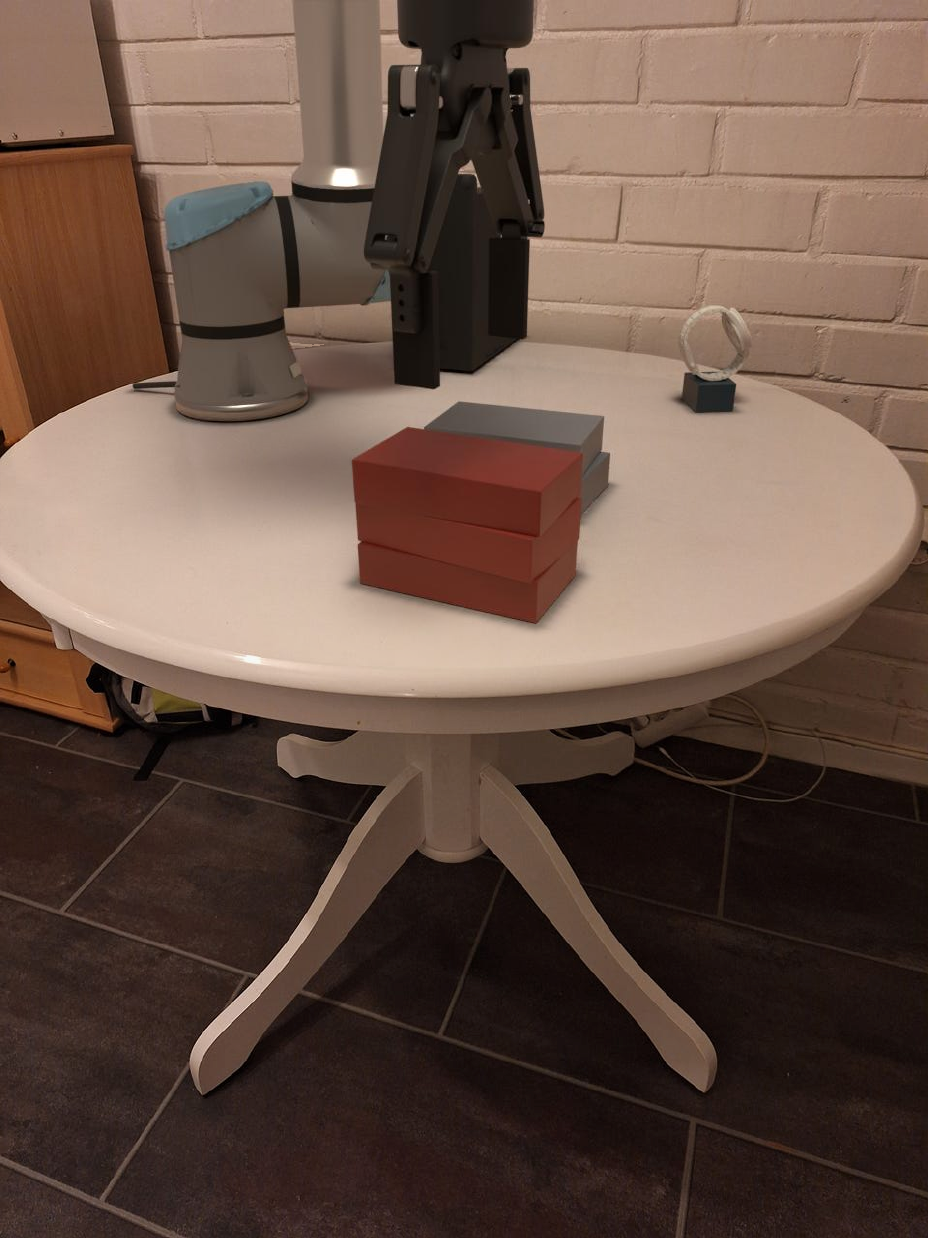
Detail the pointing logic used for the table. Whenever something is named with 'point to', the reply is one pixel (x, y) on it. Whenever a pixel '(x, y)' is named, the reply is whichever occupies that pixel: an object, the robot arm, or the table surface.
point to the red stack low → (465, 582)
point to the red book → (469, 479)
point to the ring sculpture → (714, 386)
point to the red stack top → (470, 541)
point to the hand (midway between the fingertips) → (466, 359)
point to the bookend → (465, 279)
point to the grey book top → (525, 427)
